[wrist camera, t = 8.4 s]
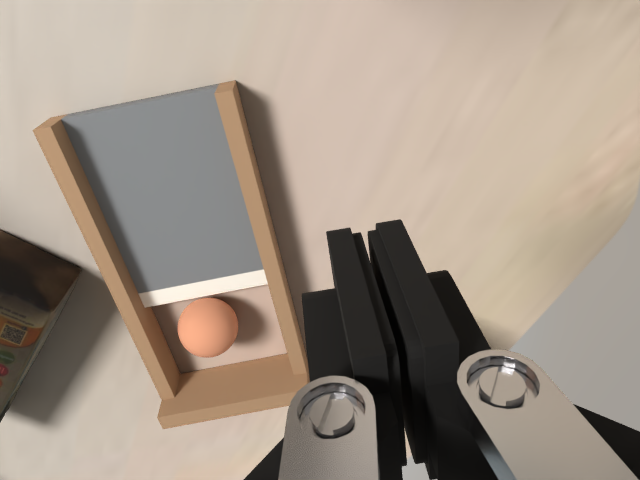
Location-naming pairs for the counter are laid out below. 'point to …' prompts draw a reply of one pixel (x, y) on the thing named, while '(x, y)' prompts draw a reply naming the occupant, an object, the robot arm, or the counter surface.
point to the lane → (179, 234)
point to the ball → (207, 327)
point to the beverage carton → (27, 307)
